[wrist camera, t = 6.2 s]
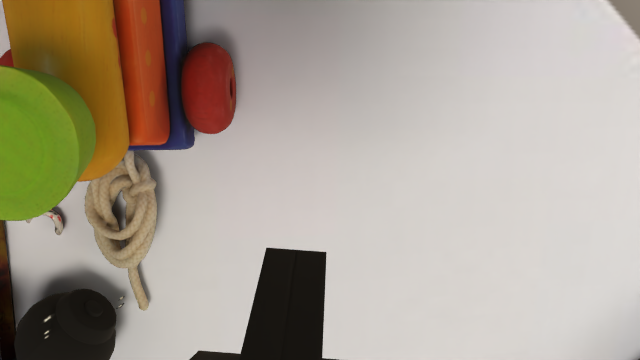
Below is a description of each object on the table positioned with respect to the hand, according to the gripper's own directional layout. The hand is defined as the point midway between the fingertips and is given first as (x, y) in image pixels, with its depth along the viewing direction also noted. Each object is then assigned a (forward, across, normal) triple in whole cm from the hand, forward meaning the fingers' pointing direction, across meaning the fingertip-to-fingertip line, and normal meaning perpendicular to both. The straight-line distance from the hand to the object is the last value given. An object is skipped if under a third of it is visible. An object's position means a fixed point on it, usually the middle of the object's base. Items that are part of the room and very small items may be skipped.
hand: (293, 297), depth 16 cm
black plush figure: (+19, -19, -21) cm, 34 cm away
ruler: (+21, -20, -15) cm, 33 cm away
